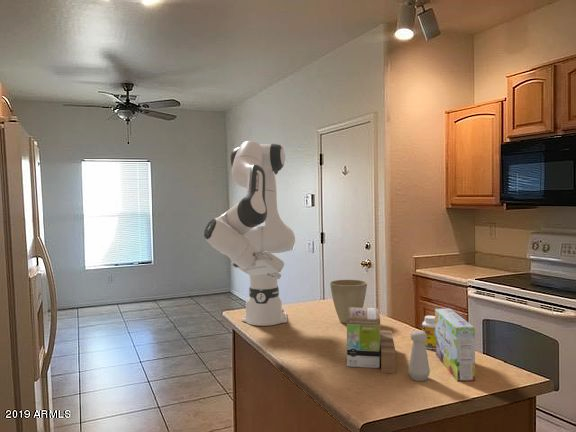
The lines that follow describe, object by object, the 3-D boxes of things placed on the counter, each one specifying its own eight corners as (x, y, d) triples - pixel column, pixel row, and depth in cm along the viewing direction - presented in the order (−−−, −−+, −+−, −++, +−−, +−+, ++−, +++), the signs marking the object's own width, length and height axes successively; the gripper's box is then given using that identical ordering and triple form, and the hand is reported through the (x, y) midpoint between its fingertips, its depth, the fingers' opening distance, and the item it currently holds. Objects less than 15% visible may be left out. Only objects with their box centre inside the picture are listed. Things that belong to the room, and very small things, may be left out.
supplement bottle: (418, 346, 157) (418, 316, 157) (431, 343, 159) (431, 314, 159) (430, 351, 152) (430, 319, 152) (443, 348, 154) (443, 317, 154)
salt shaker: (417, 384, 125) (417, 336, 125) (403, 376, 131) (403, 330, 130) (434, 380, 128) (434, 333, 127) (420, 373, 133) (420, 327, 133)
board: (379, 348, 155) (378, 330, 155) (391, 348, 155) (391, 330, 155) (381, 372, 134) (381, 352, 134) (395, 373, 133) (395, 352, 133)
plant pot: (374, 320, 190) (374, 281, 190) (354, 328, 179) (353, 287, 179) (344, 315, 200) (343, 277, 200) (322, 322, 189) (322, 282, 189)
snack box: (433, 355, 148) (433, 308, 147) (451, 355, 148) (451, 307, 147) (455, 381, 127) (455, 326, 126) (476, 381, 127) (476, 326, 126)
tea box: (381, 368, 137) (380, 318, 137) (346, 367, 139) (345, 317, 138) (379, 352, 152) (379, 306, 151) (348, 350, 154) (347, 306, 153)
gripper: (267, 243, 147) (299, 267, 152) (237, 250, 164) (267, 271, 169) (258, 260, 144) (290, 284, 149) (229, 265, 161) (259, 287, 166)
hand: (278, 277), depth 159 cm, fingers closed
